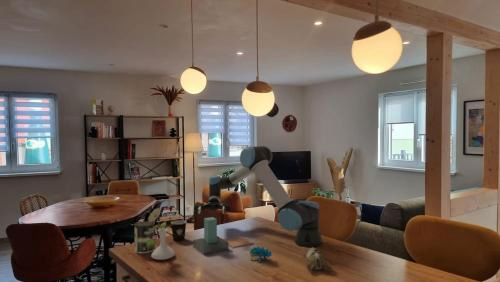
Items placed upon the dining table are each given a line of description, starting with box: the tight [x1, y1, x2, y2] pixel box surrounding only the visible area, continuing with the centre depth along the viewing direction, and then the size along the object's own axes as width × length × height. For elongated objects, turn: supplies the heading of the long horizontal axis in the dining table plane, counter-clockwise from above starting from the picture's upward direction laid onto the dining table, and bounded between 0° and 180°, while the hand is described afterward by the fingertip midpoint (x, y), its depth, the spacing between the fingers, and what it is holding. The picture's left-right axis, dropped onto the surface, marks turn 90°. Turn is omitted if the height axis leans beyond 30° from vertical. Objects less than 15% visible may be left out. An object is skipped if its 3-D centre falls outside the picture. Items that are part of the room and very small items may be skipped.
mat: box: [224, 235, 254, 249], centre depth 185 cm, size 13×13×1 cm
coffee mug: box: [164, 219, 187, 242], centre depth 191 cm, size 12×9×10 cm
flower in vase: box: [147, 207, 176, 261], centre depth 162 cm, size 13×11×25 cm
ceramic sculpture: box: [305, 247, 332, 272], centre depth 149 cm, size 11×9×15 cm
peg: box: [203, 216, 218, 244], centre depth 175 cm, size 5×5×16 cm
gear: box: [249, 246, 272, 263], centre depth 158 cm, size 11×6×10 cm
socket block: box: [192, 235, 230, 256], centre depth 175 cm, size 14×14×4 cm
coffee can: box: [133, 220, 156, 254], centre depth 173 cm, size 10×10×14 cm
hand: (211, 211), depth 185 cm, fingers open, 13 cm apart
